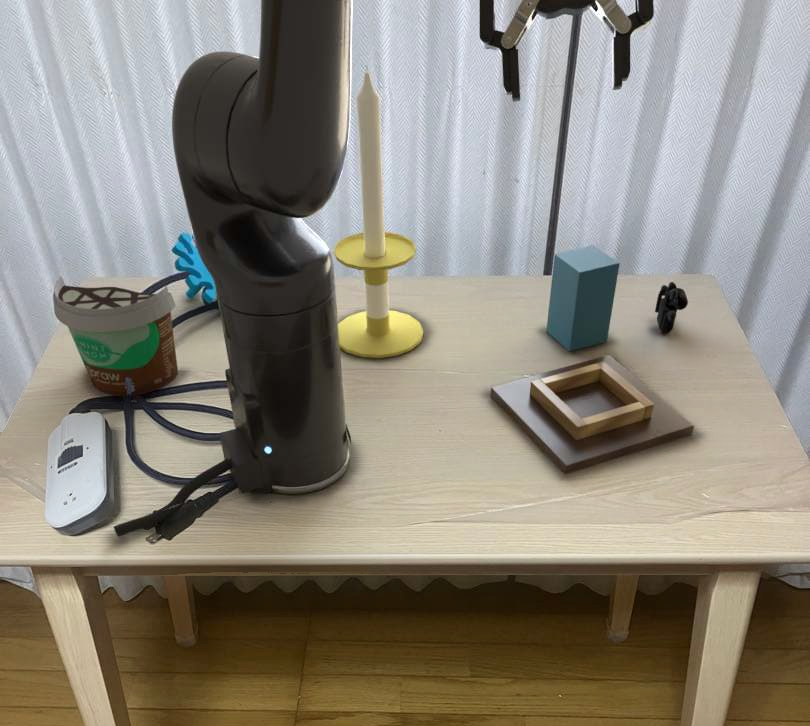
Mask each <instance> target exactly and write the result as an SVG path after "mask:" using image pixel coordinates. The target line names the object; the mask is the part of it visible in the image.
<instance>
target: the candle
mask: <svg viewBox="0 0 810 726" xmlns="http://www.w3.org/2000/svg"><path fill="white" fill-rule="evenodd" d="M365 69H366V71H365V72H364V76H363V82H362V86H361V88H360V91H359V92H358V94H357V95H356V110H357V111H356V112H357V114H356V115H357V128H358V129H357V130H358V131H357V132H358V150H359V151H358V152H359V169H360V170H359V171H360V188H361V190H360V191H361V207H362V209H361V210H362V228H363V232H358V233H355V234H351V235H349V236H346V237H344V238H343V239H341V240H339V241H338V242H337V243H336V244H335V247H333V254H334V256H335V260H336V261H337V262H338V263H340V264H341V265H343V266H345V267H346V268H349V269H354V270H357V271H363V282H364V300H365V302H364V303H365V311H360V312H357V313H355V314H351V315H349V316H346V317H345V318H344V319H342V320H340V322H338V328H339V341H340V350H342V351H344V352H345V353H348V354H351V355H354V356H357V357H361V358H369V359H370V358H372V359H373V358H374V359H382V358H390V357H396V356H400V355H402V354H404V353H408V352H410V351H412V350H413V349H414V348H415V347H417V346H418V345H419V344H420V343H421V342H422V340H423V336H424V329H423V327H422V325H421V323H420V321H419V320H417V319H416V318H415V317H413V316H411V315H409V314H407V313H403V312H400V311H396V310H390V301H389V297H390V296H389V272H388V271H389V270H392V269H396V268H398V267H402V266H405V265H406V264H407V263H408V262H410V261H412V260H413V259H414V257H415V254H416V251H417V247H416V245H415V244H414V241H413V240H411V239H410V238H408V237H406V236H405V235H403V234H399V233H395V232H391V231H389V232H388V231H385V209H384V207H385V206H384V180H383V174H384V173H383V152H382V151H383V148H382V146H383V145H382V122H381V118H382V117H381V116H382V115H381V96H380V93H379V92H377V90H376V88H375V87H374V84H373V80H372V78H371V74H370V73H371V72H369V68H368V65H367V64H366V65H365Z"/></svg>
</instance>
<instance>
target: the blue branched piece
mask: <svg viewBox="0 0 810 726" xmlns="http://www.w3.org/2000/svg"><path fill="white" fill-rule="evenodd" d="M192 241H193V242H194V243H192ZM193 244H194V245H195V246H194V245H193ZM171 252H172V254H174V255H176V256H178V257H177V258H176V260H174V267H175V270H176V271H177V272H181V273H182V272H185V273H187V274H189V275H188V276H187V277H185V279H184V282H185V284H186V286H187V287H188V290H186V292H185V296H186V297H187V298H188V299H191V300H192V299H194V298H195V297H196V296H197V294H198V293H199V292H201V290H202V289H203V288H204V287H205V288H207V289H205V290H204V291H203V292H202V294H201V298H202V299H203V300H204V301H205V302H206V303H208V304H211V303H212V302H214V300H215V299H216V298H217V295H216V289H215V284H214V281H213V278H212V276H211V275H210V273H209V271H208V270H207V268H206V267H205V265H204V264H203V262H202V260H201V258H200V255H199V253H198V250H197V247H196V244H195V240H194V236H193V234H192V235H190V233H188V232H182V233H180V235H179V236H178V237H177V242H176V243H175V244H174V246H173V247H171Z"/></svg>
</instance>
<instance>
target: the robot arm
mask: <svg viewBox="0 0 810 726" xmlns="http://www.w3.org/2000/svg"><path fill="white" fill-rule="evenodd" d="M633 3H634V12H632V13H630V14H629V15H627V14H626V13H625V11H624V10H623V8H622V7H621V6H620V5H619V3H618V1H617V0H521V2H520V4H519V5H518V7H517V9H516V11H515V12H514V15H513V17H512V19H511V20H510V23H509V24H508V26H507V28H506V30H505V31H500V30H498V29H496V0H479V39H480V44H481V46H482V48H484V49H485V50H493V51H496V52H498V53H500V55H501V61H502V63H501V64H502V82H503V83H502V84H503V85H502V86H503V90H504V92H505V94H506V95H507V96H511V100H512V102H514V103H515V102H521V77H520V76H521V75H520V53H519V49H518V47H519V45H520V43H521V42H522V40H523V39H524V37H525V35H526V34H527V32H528V31H529V30H530V29H531V26H532V25H533V23H534V21H535V20H536V18H537V16H540V17H542V18H544V19H545V20H553V19H556V18H558V17H561V16H563V15H568V16H573V17H574V16H582V15H584V13H585V12H587V11H589V9H591V10H592V12H593V14H595V15H596V17H597V18H598V20H600V22H602V23H604V25H605V26H606V28H607V29H608V30H609V32H610V33H611V34H612V35H613V37H612V40H611V88H612V89H611V90H612V91H618V90H622V87H623V82H627V81H628V79H629V77H630V73H631V37H632V36H633V35H634V34H635V33H638V32H640V31H641V30H646V29H647V28H648V27H649V26H650V24H651V22H652V20H653V18H654V15H655V10H654V9H655V8H654V0H634V1H633ZM352 43H353V0H260V37H259V50H258V56H254V55H249V54H244V53H241V52H235V51H225V50H224V51H213V52H209V53H206V54H204V55H202V56H200V57H198V58H197V59H195V60H194V61H193V62H192V63H191V64H190V65H189V66H188V67H187V69H186V70H185V71H184V73H183V75H182V77H181V79H180V81H179V83H178V85H177V87H176V90H175V94H174V99H173V104H172V113H171V135H172V145H173V152H174V158H175V163H176V169H177V174H178V177H179V181H180V187H181V190H182V194H183V198H184V202H185V206H186V211H187V215H188V219H189V223H190V226H191V231H192V235H193V236H194V240H195V243H194V245H195V244H196V246H195V247H197V250H198V253H199V255H200V258H201V260H202V262H203V264H204V265H205V267H206V268H207V270H208V271H209V273H210V275H211V276H212V278H213V281H214V284H215V289H216V293H215V296H216V298H217V304H218V309H219V310H218V311H219V317H220V321H221V326H222V333H223V338H224V343H225V350H226V355H227V360H228V365H229V367H228V368H226V369H225V370H224V374H225V380H226V385H227V390H228V396H229V403H230V407H231V412H232V417H233V418H232V419H233V423H234V428H233V429H229V430H225V431H222V432H219V439H220V445H221V448H222V450H221V451H222V454H223V460H222V461H220V462H218V463H217V464H215V465H213V466H212V467H210V468H208V469H206V470H204V471H202V472H201V473H199V474H198V475H196V476H194V477H193V478H192V479H190V480H189V481H188V482H186V483H185V484H184V486H182V487H181V489H179V490H178V492H177V494H176V495H175V496H174V497H173V499H172V500H171V501H169V502H168V503H167V504H165V506H163V507H161V508H160V509H158V510H156V511H154V512H151V513H149V514H146V515H144V516H141V517H138V518H134V519H131V520H128V521H125V522H122V523H120V524H117V525H114V526H113V529H114V532H115V534H116V536H117V537H118V538H119V537H121V536H124V535H128V534H130V533H133V532H136V531H138V530H141V529H142V530H143V529H145V528H148V527H150V526H151V527H152V526H153V525H155V524H156V525H157V524H159V523H160V522H162V521H164V520H166V519H168V518H170V517H171V516H172V515H174V514H175V513H177V512H178V511H179V510H180V509H181V508H182V507H183V506H184V504H185V503H186V501H188V499H189V498H190V497H191V495H192V494H193V493H195V492H196V491H197V490H198V489H200V488H201V487H203V486H204V485H206V484H207V483H209V482H211V481H212V480H214V479H216V478H217V477H219V476H221V475H223V474H225V473H226V472H228V471H229V473H230V474H231V476H232V478H233V480H234V483H235V484H236V485H237V488H238V491H239V492H240V494H244V493H247V492H250V491H251V492H252V491H254V490H257V492H258V494H260V495H266V494H269V493H279V494H285V495H300V494H308V493H313V492H316V491H319V490H321V489H324V488H326V487H329V486H330V485H332V484H334V483H335V482H337V481H338V480H339V479H340V478H342V477H343V476H344V475H345V473H346V471H347V470H348V467H349V464H350V460H351V459H350V448H349V444H352V436H351V433H350V431H349V426H348V424H347V419H346V407H345V396H344V395H345V394H344V383H343V370H342V368H343V367H342V356H341V348H340V341H339V328H338V324H339V316H338V302H337V291H336V279H335V278H336V277H335V266H334V259H333V255H332V252H331V250H330V248H329V246H328V245H327V244H326V242H325V241H324V240H323V239H322V238H321V237H320V236H319V235H318V234H317V233H316V232H314V231H313V229H311V227H309V225H307V223H305V221H304V220H303V218H308V217H311V216H314V215H315V214H316V213H318V212H319V211H320V210H322V209H323V208H324V207H325V206H326V204H327V203H328V202H329V201H330V200H331V199H332V196H333V195H334V193H335V191H336V189H337V187H338V185H339V182H340V179H341V176H342V174H343V171H344V167H345V164H346V157H347V152H348V146H349V139H350V127H351V106H352V104H351V103H352V53H353V52H352V50H353V49H352V47H353V46H352V45H353V44H352ZM348 440H349V441H348ZM180 503H183V504H181V505H179V506H177V507H175V508H171V509H167V508H169V507H170V506H173V505H176V504H180ZM164 509H167V510H164ZM163 510H164V511H163Z"/></svg>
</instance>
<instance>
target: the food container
mask: <svg viewBox="0 0 810 726" xmlns="http://www.w3.org/2000/svg"><path fill="white" fill-rule="evenodd" d="M52 301H53V311H54V315H55V318H56V319H57V320H58V321H59V322H60V323H61V324H63V325H64V326H66V327H67V328H68V330H69V333H70V335H71V337H72V340H73V343H74V345H75V347H76V349H77V351H78V354H79V356H80V358H81V361H82V363H83V365H84V368H85V370H86V372H87V375H88V377H89V380H90V381H91V384H92V386H93V387H94V388H95V389H96V390H97V391H99V392H100V393H103V394H106V395H109V396H116V397H132V396H133V397H134V396H140V395H144V394H148V393H152V392H155V391H156V390H159V389H161V388H163V387H165V386H167V385H168V384H170V383H172V382H173V380H175V379H176V378H177V376H178V375H179V370H178V361H177V353H176V345H175V336H174V327H173V319H172V311H173V310H174V309H176V307H177V305H176V302H175V300H174V297H173V295H172V292H170V291H169V288H168V286H165V287H164V288H162V289H161V290H160V291H159V292H157V293H147V292H139V291H135V290H130V289H126V288H121V287H117V286H101V287H99V286H98V287H82V286H71V285H66V283H65V280H64V279H63V276H60V277H59V278H57V280H56V282H55V283H54V287H53V293H52ZM126 377H130V378H131V379H132V381H133V383H134V385H135V387H134V388H135V391H134V392H132V393H131V395H130V394H127V389H126V388H125V387H126V383H125V378H126Z"/></svg>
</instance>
